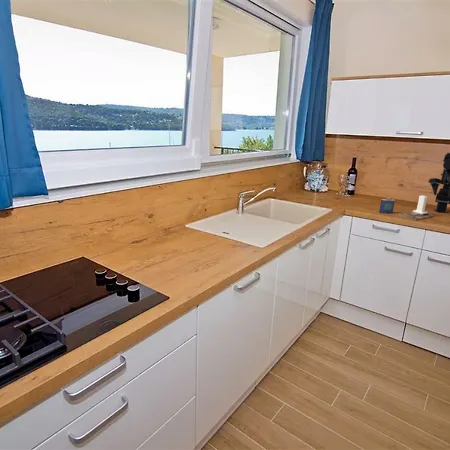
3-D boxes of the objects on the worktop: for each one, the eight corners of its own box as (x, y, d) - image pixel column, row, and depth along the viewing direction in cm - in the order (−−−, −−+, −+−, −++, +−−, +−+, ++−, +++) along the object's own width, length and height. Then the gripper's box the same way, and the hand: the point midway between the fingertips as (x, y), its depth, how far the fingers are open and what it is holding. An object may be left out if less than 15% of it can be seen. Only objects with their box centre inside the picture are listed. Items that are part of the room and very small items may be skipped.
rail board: (415, 212, 224) (416, 208, 223) (433, 216, 215) (434, 212, 214) (397, 215, 214) (398, 211, 214) (415, 220, 205) (416, 216, 204)
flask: (391, 212, 222) (394, 196, 219) (393, 213, 219) (396, 197, 216) (378, 212, 221) (380, 196, 218) (380, 213, 218) (383, 197, 215)
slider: (417, 210, 220) (421, 194, 217) (427, 213, 215) (431, 196, 211) (412, 211, 217) (415, 195, 214) (422, 214, 212) (425, 197, 209)
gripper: (442, 168, 204) (436, 193, 205) (471, 174, 204) (465, 199, 206) (431, 169, 215) (424, 193, 216) (458, 176, 216) (452, 199, 217)
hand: (441, 196), depth 213 cm, fingers open, 9 cm apart
